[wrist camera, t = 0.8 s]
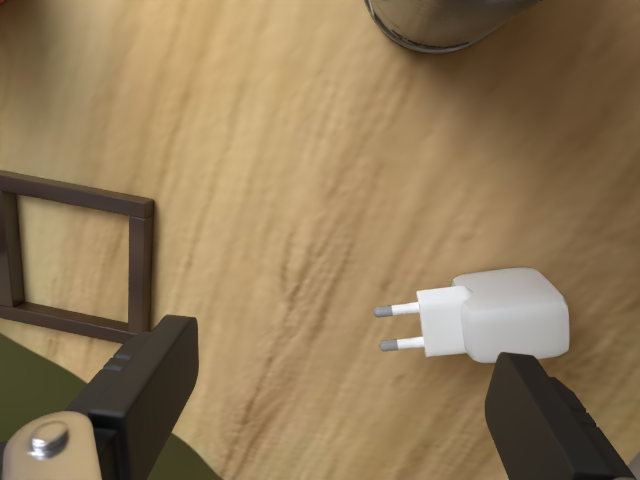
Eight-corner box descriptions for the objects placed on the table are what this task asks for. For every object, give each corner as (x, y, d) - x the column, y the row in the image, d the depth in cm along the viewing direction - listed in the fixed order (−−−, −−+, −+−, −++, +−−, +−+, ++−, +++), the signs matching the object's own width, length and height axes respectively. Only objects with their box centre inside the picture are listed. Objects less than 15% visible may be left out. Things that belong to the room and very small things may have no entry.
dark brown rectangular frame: (-135, 144, 31) (-154, 145, 30) (153, 199, 30) (145, 202, 29) (-107, 286, 35) (-123, 292, 34) (149, 340, 34) (141, 348, 33)
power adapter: (380, 334, 31) (383, 384, 26) (370, 276, 30) (371, 315, 24) (537, 317, 29) (576, 367, 24) (534, 254, 28) (575, 291, 22)
